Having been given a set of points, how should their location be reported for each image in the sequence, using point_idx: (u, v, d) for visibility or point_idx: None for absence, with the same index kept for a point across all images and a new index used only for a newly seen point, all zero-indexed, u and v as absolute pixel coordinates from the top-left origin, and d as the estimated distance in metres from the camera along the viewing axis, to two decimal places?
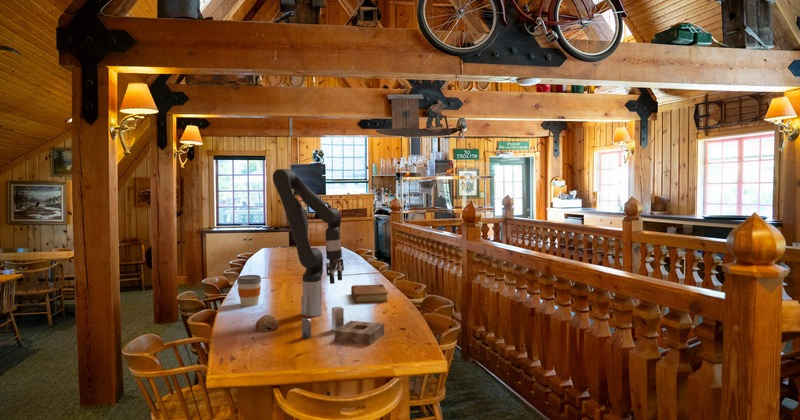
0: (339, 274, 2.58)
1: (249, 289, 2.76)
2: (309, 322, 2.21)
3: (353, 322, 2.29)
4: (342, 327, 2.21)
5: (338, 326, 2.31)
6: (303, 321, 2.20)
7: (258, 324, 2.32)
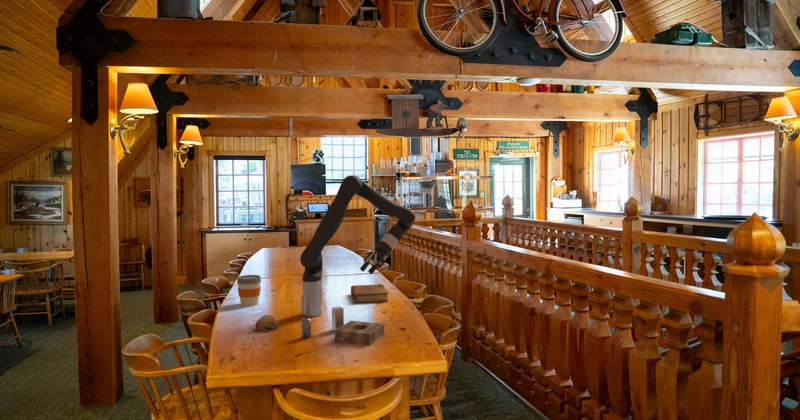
0: (365, 265, 2.43)
1: (249, 289, 2.76)
2: (309, 322, 2.21)
3: (353, 322, 2.29)
4: (342, 327, 2.21)
5: (338, 326, 2.31)
6: (303, 321, 2.20)
7: (258, 324, 2.32)
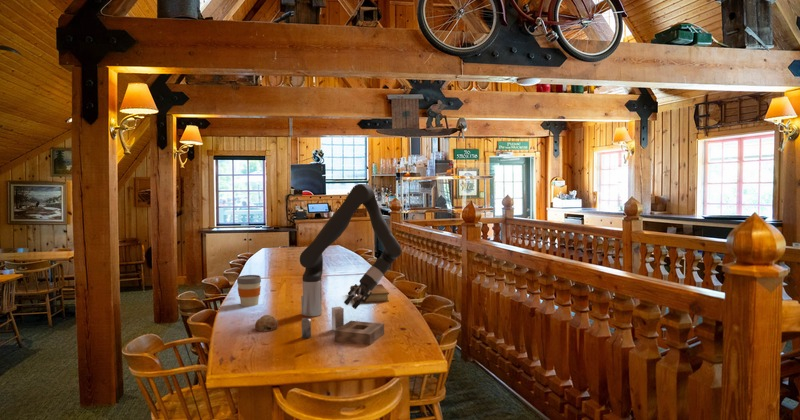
0: (350, 299, 2.40)
1: (249, 289, 2.76)
2: (309, 322, 2.21)
3: (353, 322, 2.29)
4: (342, 327, 2.21)
5: (338, 326, 2.31)
6: (303, 321, 2.20)
7: (258, 324, 2.32)
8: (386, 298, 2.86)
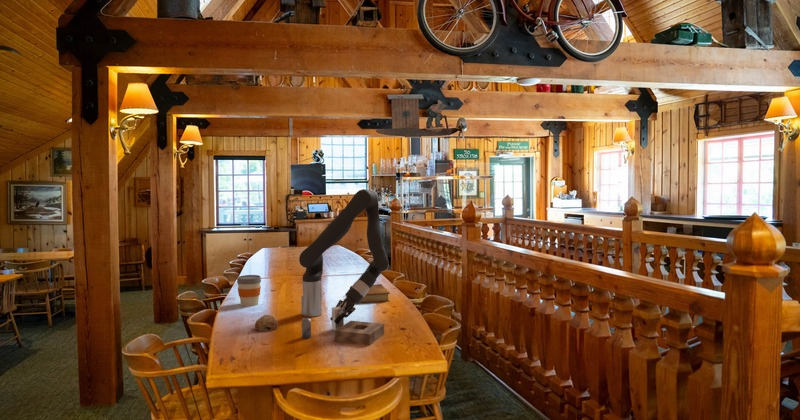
0: None
1: (249, 289, 2.76)
2: (309, 322, 2.21)
3: (353, 322, 2.29)
4: (342, 327, 2.21)
5: (338, 326, 2.31)
6: (303, 321, 2.20)
7: (257, 324, 2.32)
8: (387, 298, 2.87)
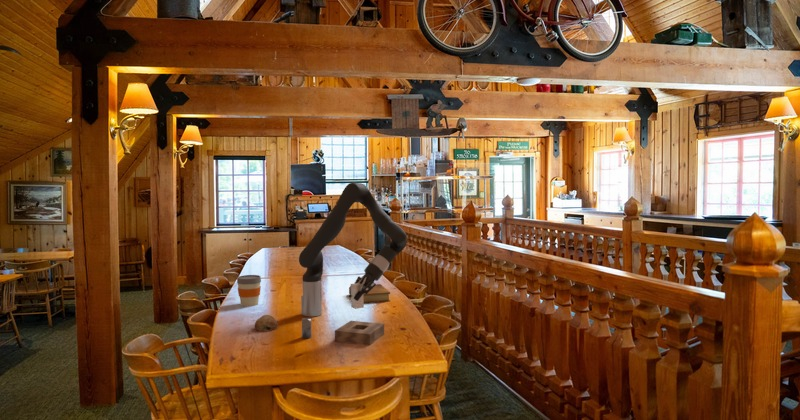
0: None
1: (249, 289, 2.76)
2: (309, 322, 2.21)
3: (353, 322, 2.29)
4: (342, 327, 2.21)
5: (358, 303, 2.21)
6: (304, 321, 2.20)
7: (257, 324, 2.32)
8: (387, 298, 2.87)
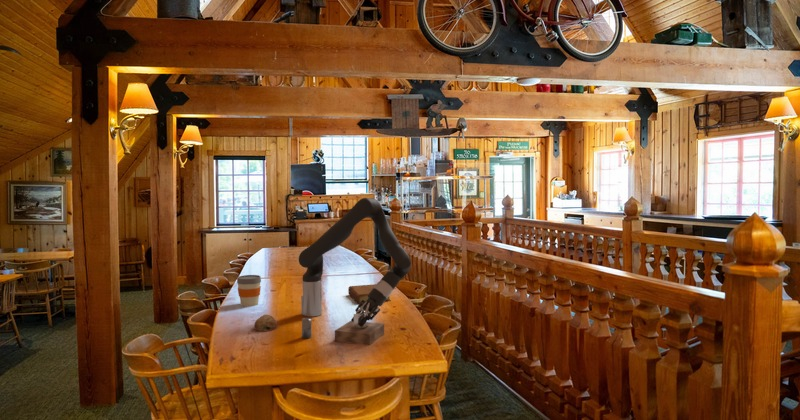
0: None
1: (249, 289, 2.76)
2: (310, 322, 2.21)
3: (353, 322, 2.29)
4: (342, 327, 2.21)
5: None
6: (304, 321, 2.20)
7: (257, 324, 2.33)
8: (388, 297, 2.87)
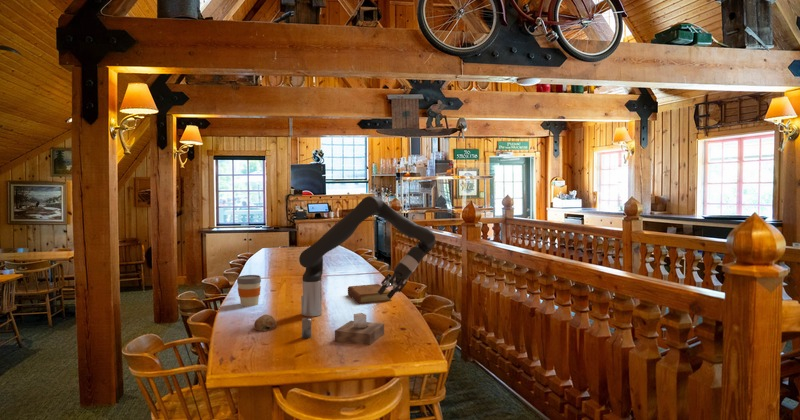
0: (383, 288, 2.31)
1: (249, 289, 2.76)
2: (310, 322, 2.21)
3: (353, 322, 2.29)
4: (342, 327, 2.21)
5: None
6: (305, 321, 2.20)
7: (257, 323, 2.33)
8: None
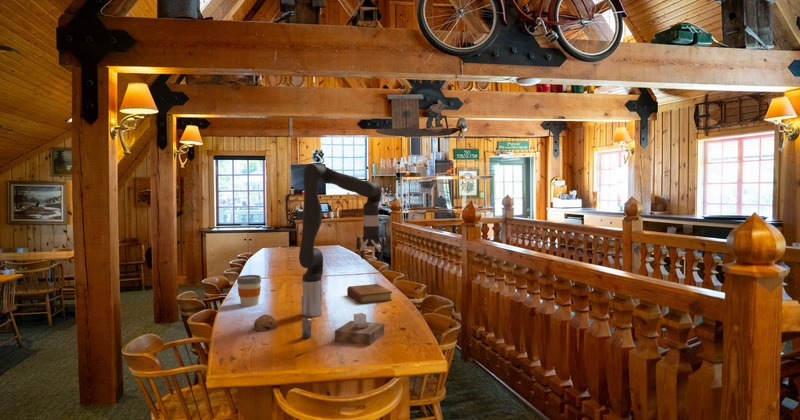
0: (363, 252, 2.44)
1: (249, 289, 2.76)
2: (311, 322, 2.22)
3: (353, 322, 2.29)
4: (342, 327, 2.21)
5: None
6: (305, 321, 2.20)
7: (256, 323, 2.33)
8: (389, 297, 2.88)
